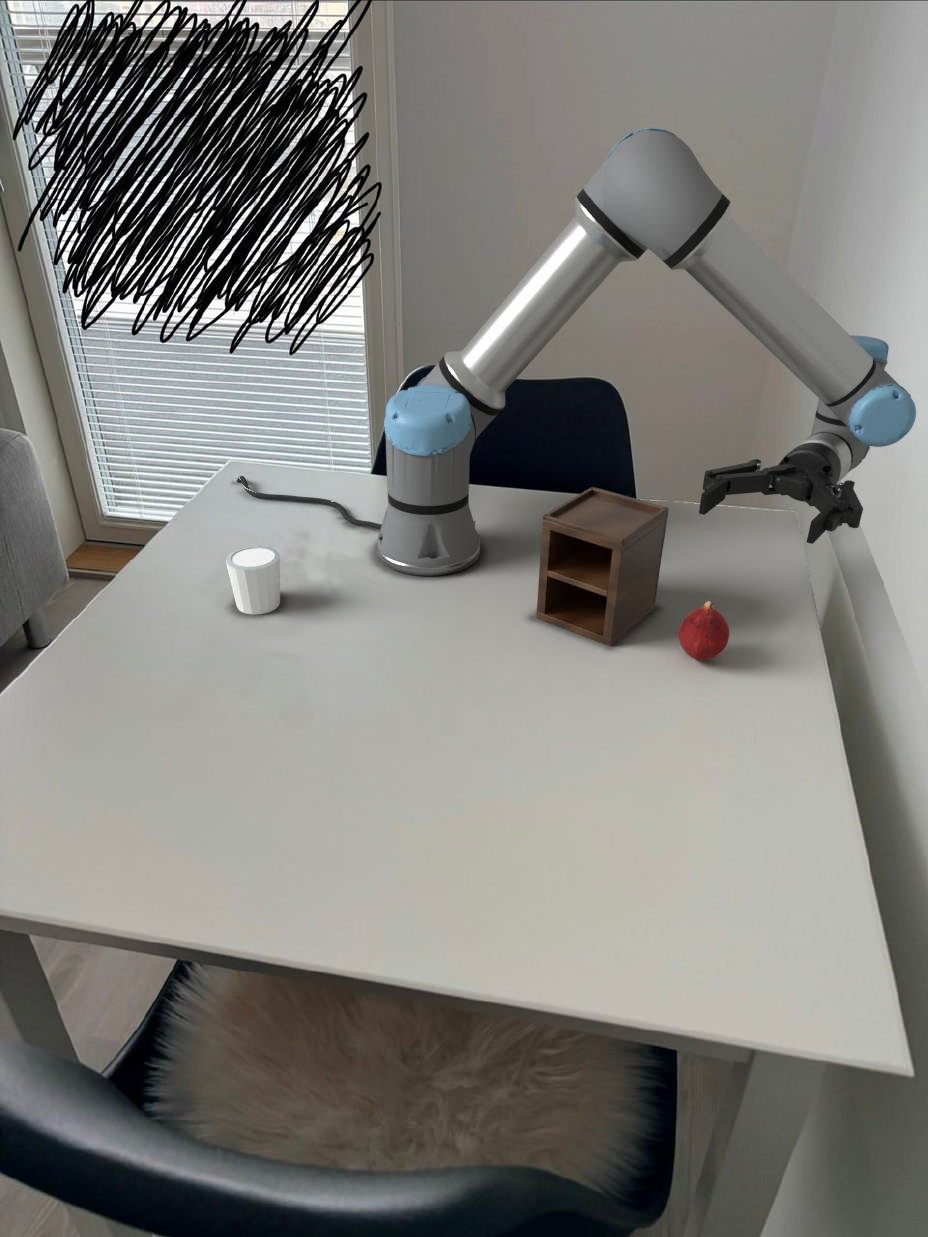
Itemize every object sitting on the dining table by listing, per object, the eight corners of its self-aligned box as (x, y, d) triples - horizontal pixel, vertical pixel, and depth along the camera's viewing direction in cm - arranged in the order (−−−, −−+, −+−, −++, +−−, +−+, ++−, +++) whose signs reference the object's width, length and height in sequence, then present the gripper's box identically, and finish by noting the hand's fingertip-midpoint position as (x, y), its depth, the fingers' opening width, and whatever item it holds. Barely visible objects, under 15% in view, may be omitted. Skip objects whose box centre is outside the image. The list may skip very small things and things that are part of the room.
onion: (728, 674, 104) (740, 616, 100) (679, 673, 104) (689, 615, 100) (717, 647, 109) (728, 591, 105) (670, 646, 109) (679, 590, 105)
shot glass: (290, 592, 119) (286, 546, 116) (276, 618, 113) (271, 570, 110) (241, 589, 120) (235, 543, 116) (224, 615, 114) (217, 567, 110)
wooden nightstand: (536, 618, 114) (542, 515, 107) (583, 584, 123) (592, 486, 115) (610, 646, 109) (622, 540, 101) (654, 608, 117) (668, 507, 109)
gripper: (902, 515, 116) (854, 575, 101) (723, 473, 129) (658, 520, 114) (917, 462, 112) (869, 515, 98) (731, 423, 125) (665, 465, 110)
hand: (755, 518), depth 106 cm, fingers open, 13 cm apart
